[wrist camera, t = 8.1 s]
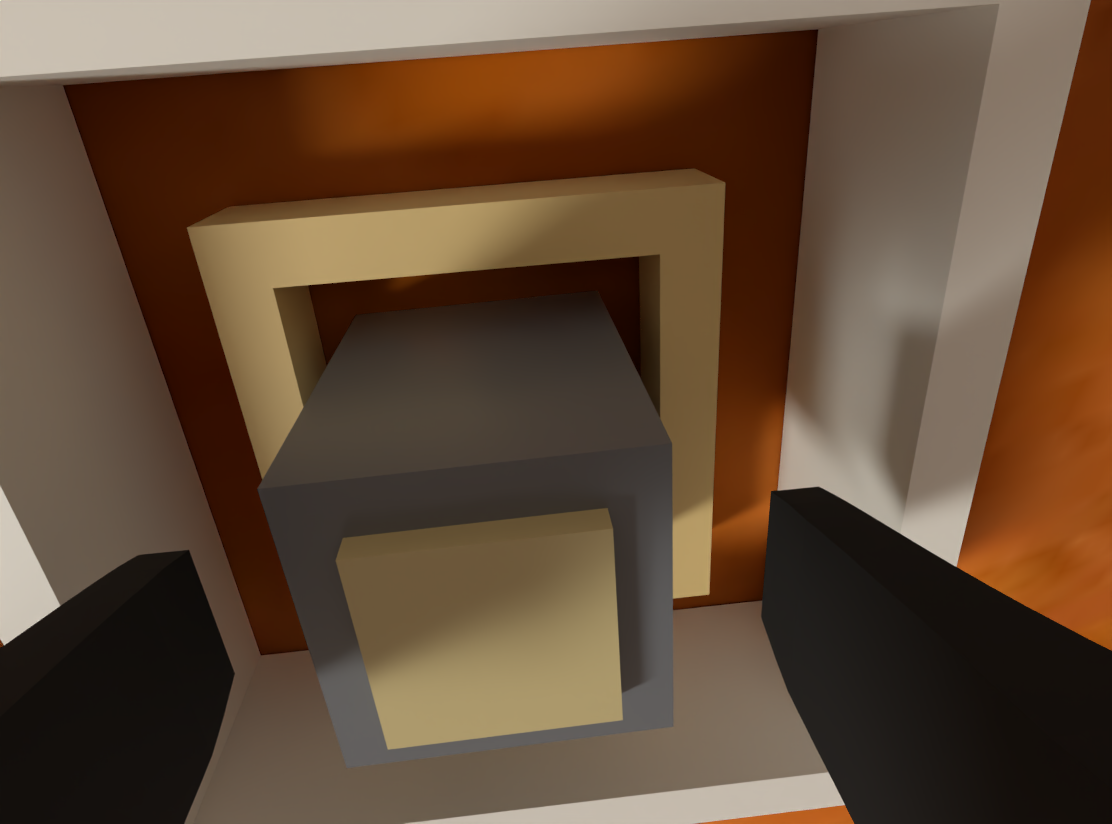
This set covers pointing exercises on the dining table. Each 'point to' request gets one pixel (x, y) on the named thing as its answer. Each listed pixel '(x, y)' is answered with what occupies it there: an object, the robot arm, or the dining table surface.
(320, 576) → the block
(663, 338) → the cream square frame
